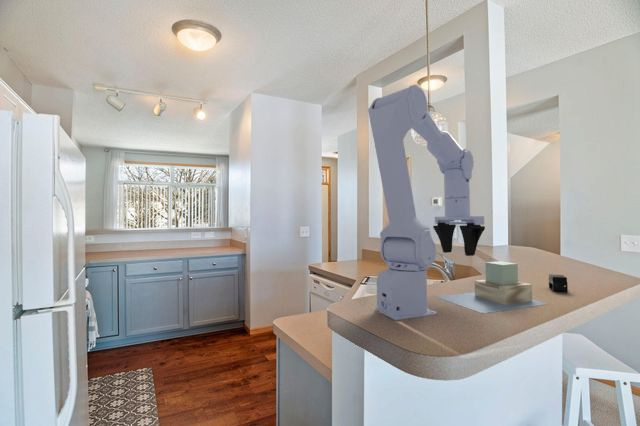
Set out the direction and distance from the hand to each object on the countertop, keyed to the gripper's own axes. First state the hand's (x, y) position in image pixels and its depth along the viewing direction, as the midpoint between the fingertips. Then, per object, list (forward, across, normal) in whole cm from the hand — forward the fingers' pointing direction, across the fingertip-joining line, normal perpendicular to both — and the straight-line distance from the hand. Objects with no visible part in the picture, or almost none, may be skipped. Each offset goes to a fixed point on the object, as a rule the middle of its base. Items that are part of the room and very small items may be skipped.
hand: (458, 253), depth 79 cm
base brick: (+10, -8, -5) cm, 13 cm away
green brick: (+6, -8, -5) cm, 11 cm away
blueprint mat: (+10, -8, -1) cm, 13 cm away
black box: (+11, -7, -24) cm, 27 cm away
